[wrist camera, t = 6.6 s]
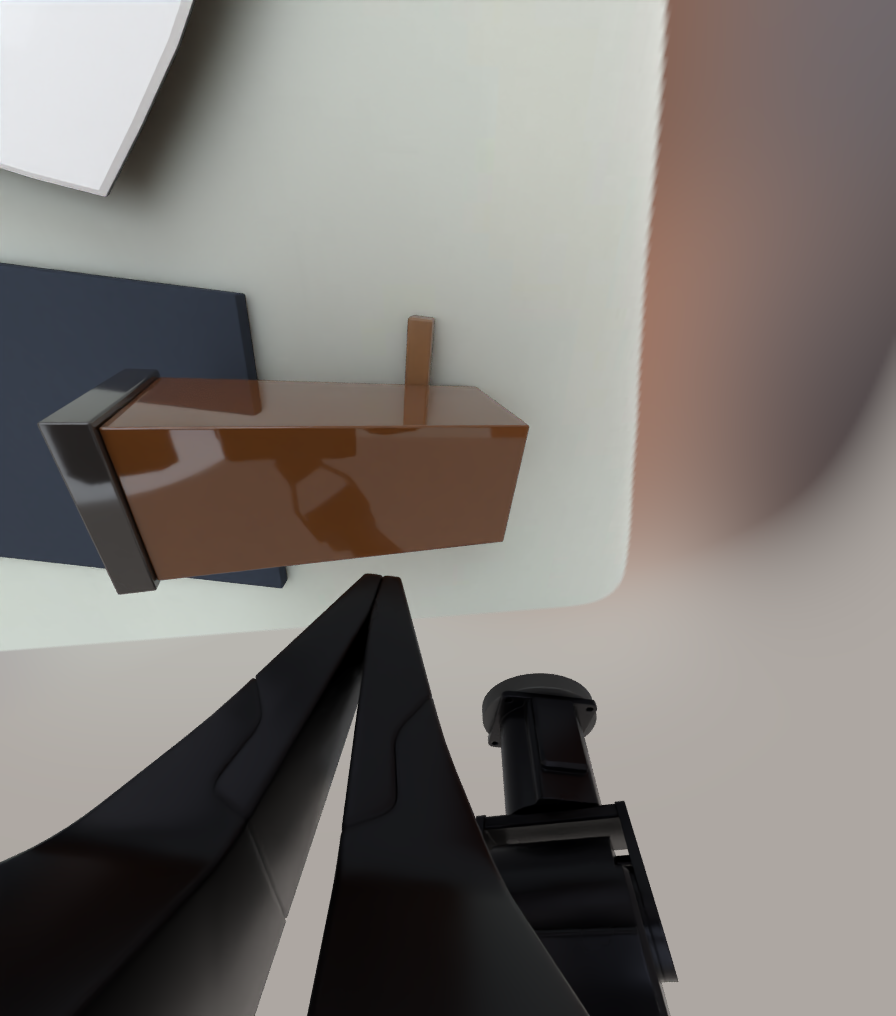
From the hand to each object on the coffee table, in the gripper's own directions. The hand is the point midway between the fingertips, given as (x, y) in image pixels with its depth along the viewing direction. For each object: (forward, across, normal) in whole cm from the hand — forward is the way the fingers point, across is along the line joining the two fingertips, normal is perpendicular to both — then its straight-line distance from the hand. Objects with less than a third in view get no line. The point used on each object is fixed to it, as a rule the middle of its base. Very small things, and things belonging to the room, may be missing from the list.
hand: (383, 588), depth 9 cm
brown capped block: (+8, -3, 0) cm, 9 cm away
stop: (+11, 0, 0) cm, 11 cm away
